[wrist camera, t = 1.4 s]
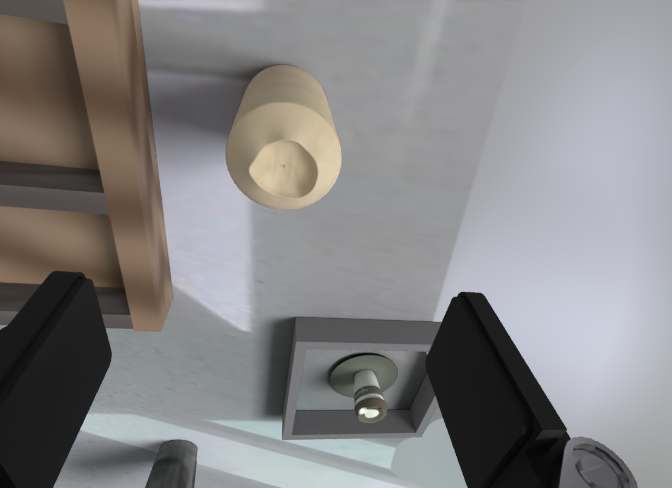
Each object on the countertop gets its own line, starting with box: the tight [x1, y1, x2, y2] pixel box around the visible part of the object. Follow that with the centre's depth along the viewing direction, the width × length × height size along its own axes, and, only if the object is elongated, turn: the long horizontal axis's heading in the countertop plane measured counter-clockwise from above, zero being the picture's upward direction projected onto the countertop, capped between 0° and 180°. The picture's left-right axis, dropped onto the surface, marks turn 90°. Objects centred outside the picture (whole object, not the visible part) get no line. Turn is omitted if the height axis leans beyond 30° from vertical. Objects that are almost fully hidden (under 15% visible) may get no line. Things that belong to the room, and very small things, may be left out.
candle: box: [226, 65, 341, 210], centre depth 21 cm, size 6×6×10 cm
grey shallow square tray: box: [282, 317, 442, 440], centre depth 42 cm, size 17×17×3 cm
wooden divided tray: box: [0, 0, 173, 332], centre depth 24 cm, size 23×15×4 cm, turn 171°
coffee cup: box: [330, 354, 398, 423], centre depth 41 cm, size 12×12×5 cm
